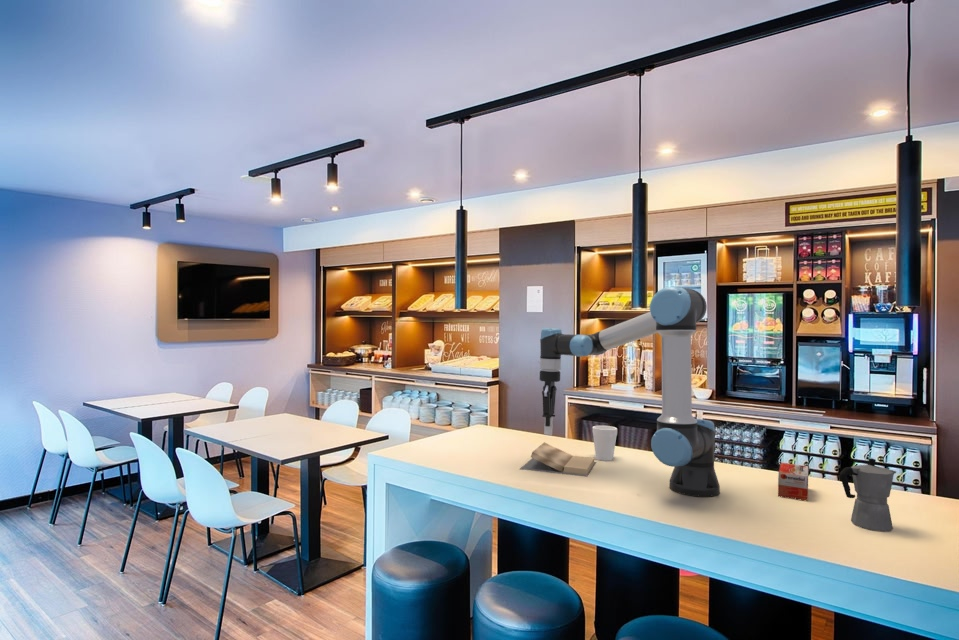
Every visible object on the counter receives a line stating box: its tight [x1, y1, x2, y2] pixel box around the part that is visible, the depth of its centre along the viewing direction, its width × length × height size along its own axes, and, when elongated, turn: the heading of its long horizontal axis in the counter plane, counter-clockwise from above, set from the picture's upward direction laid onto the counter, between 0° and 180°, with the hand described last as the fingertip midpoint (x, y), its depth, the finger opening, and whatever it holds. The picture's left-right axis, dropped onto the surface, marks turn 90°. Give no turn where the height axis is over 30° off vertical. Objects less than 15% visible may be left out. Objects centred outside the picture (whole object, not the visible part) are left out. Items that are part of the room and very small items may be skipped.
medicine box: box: [777, 462, 809, 502], centre depth 176 cm, size 15×8×8 cm, turn 149°
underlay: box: [519, 455, 597, 477], centre depth 201 cm, size 24×22×3 cm
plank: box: [530, 441, 574, 472], centre depth 202 cm, size 12×18×2 cm, turn 160°
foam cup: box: [591, 425, 618, 462], centre depth 213 cm, size 10×9×13 cm
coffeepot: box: [839, 457, 897, 533], centre depth 147 cm, size 15×9×18 cm, turn 93°
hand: (548, 434), depth 200 cm, fingers closed
